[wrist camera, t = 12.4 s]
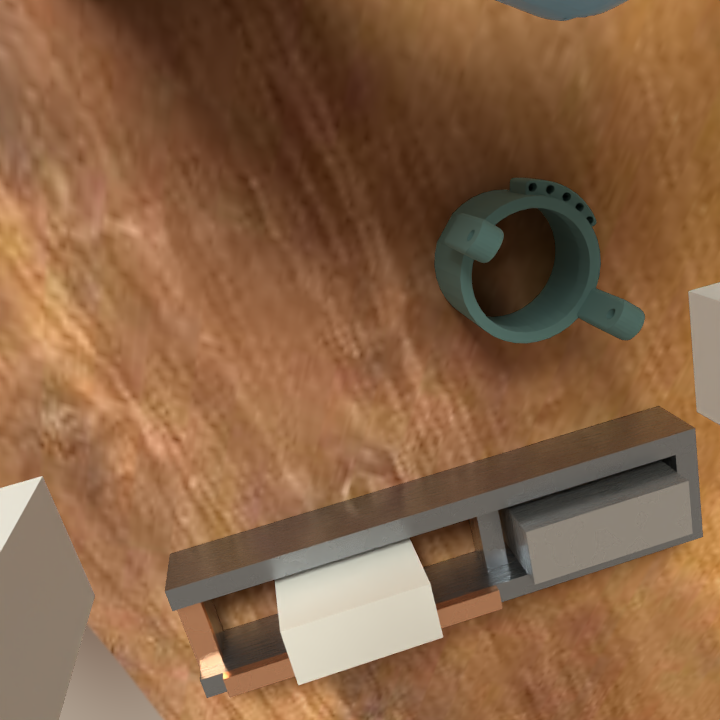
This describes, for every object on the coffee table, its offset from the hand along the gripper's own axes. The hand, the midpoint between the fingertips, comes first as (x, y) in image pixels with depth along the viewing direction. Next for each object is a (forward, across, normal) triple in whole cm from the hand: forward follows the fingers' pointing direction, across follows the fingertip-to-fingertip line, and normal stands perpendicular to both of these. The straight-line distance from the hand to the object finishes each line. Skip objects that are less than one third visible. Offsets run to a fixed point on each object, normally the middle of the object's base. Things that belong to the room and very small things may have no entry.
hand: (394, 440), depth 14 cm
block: (+29, -2, -22) cm, 36 cm away
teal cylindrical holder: (+29, +13, -4) cm, 32 cm away
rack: (+29, +5, -22) cm, 37 cm away
